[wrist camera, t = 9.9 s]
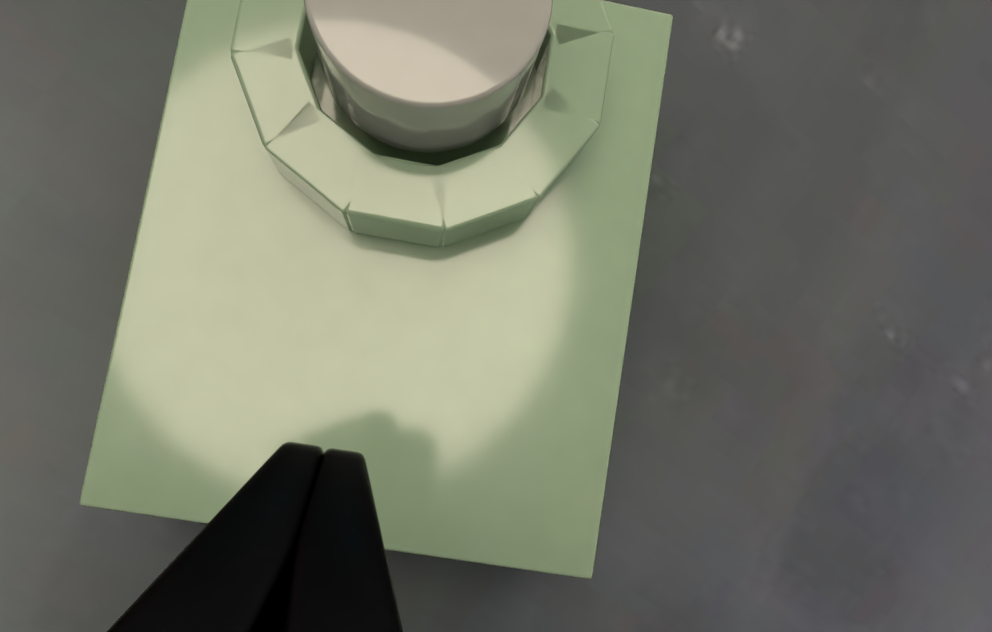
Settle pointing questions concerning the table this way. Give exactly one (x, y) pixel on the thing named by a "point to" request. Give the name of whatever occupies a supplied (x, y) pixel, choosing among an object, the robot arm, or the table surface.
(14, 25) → the table surface
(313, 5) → the grey short cylinder
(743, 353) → the table surface
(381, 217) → the push button box
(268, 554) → the robot arm
